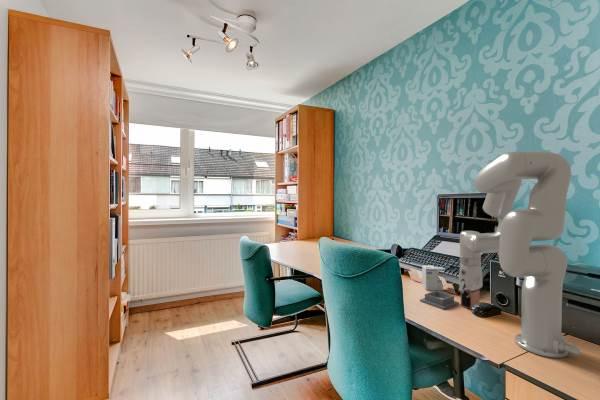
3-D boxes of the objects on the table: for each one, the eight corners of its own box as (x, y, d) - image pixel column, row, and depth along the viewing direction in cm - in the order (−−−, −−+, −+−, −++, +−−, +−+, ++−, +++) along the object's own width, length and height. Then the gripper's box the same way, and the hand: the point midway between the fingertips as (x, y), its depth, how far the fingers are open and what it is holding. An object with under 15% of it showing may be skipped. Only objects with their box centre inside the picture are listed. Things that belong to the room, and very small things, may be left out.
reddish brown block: (479, 307, 121) (479, 290, 121) (472, 309, 119) (472, 292, 118) (467, 303, 126) (467, 286, 125) (460, 305, 123) (460, 289, 123)
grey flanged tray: (459, 303, 125) (459, 296, 125) (443, 309, 119) (443, 301, 119) (435, 296, 134) (435, 289, 134) (419, 301, 128) (419, 293, 128)
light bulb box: (443, 286, 148) (443, 264, 147) (449, 290, 141) (449, 268, 140) (421, 286, 149) (421, 264, 148) (425, 290, 142) (425, 268, 142)
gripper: (467, 266, 114) (467, 312, 114) (490, 260, 123) (490, 303, 123) (449, 262, 120) (449, 306, 121) (472, 256, 129) (471, 297, 130)
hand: (469, 304), depth 122 cm, fingers closed on reddish brown block, 5 cm apart
